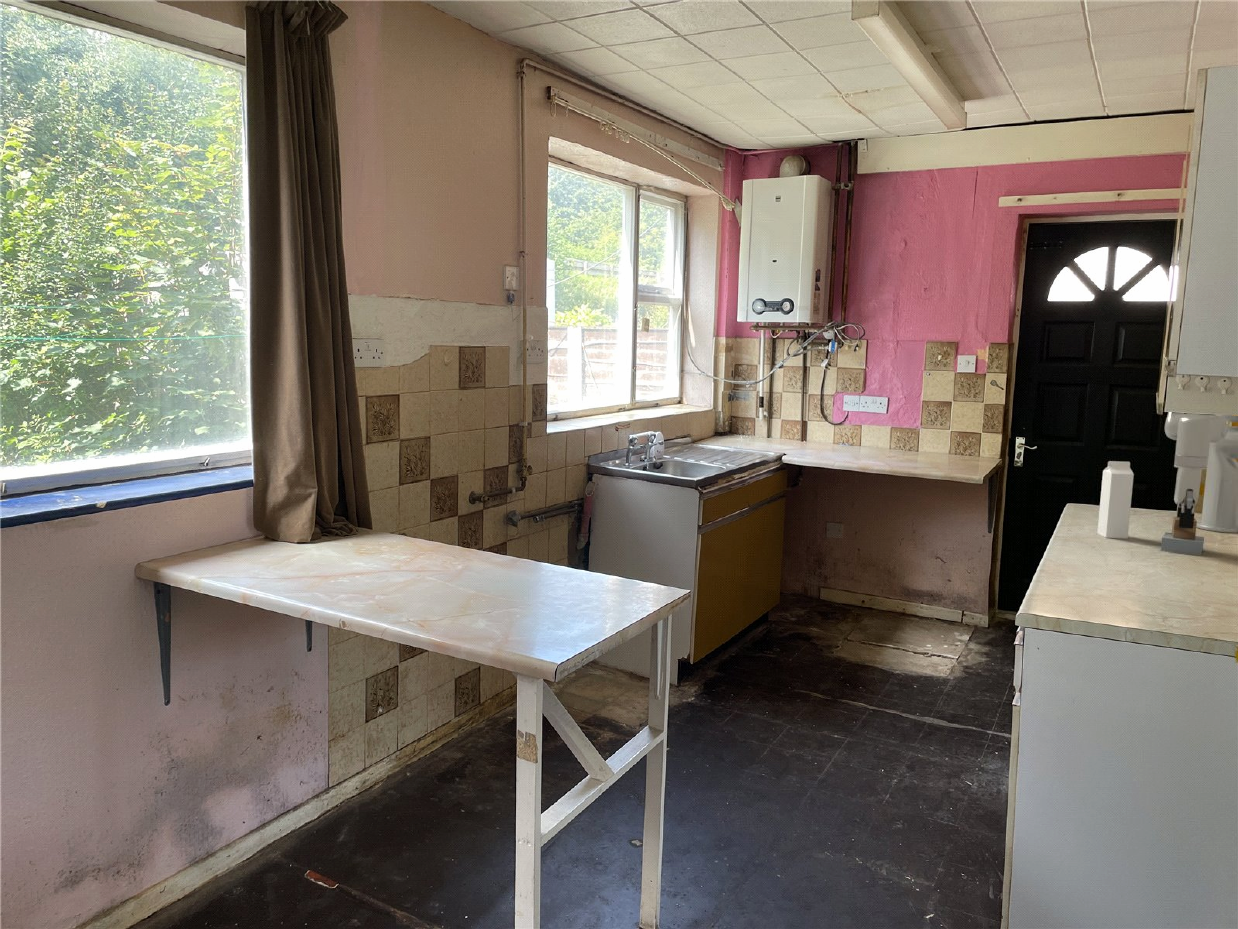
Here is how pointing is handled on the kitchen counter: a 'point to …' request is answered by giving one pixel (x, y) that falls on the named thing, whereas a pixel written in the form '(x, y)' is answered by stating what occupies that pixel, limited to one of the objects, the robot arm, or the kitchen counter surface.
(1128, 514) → the milk
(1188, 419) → the robot arm
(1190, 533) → the walnut cube
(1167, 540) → the grey slab
